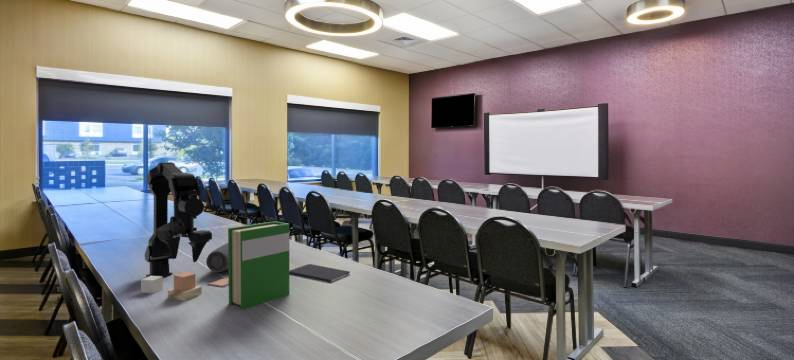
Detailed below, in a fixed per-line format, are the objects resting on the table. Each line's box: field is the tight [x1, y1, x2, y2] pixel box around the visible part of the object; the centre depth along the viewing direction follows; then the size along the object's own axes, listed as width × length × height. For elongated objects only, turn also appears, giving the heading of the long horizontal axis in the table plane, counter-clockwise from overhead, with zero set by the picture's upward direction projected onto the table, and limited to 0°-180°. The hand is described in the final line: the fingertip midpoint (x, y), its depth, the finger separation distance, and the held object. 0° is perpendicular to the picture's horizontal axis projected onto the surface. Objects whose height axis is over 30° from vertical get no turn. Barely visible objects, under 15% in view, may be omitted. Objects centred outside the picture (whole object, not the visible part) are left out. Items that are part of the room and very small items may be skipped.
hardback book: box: [227, 221, 290, 311], centre depth 135 cm, size 18×7×24 cm, turn 143°
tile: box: [207, 278, 229, 288], centre depth 151 cm, size 7×7×1 cm
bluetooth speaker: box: [205, 242, 229, 273], centre depth 172 cm, size 23×9×10 cm, turn 179°
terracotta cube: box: [173, 271, 196, 291], centre depth 138 cm, size 4×4×4 cm
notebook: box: [289, 263, 351, 283], centre depth 165 cm, size 13×2×21 cm
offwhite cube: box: [140, 276, 164, 294], centre depth 142 cm, size 4×4×4 cm
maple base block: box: [167, 284, 203, 302], centre depth 138 cm, size 7×7×3 cm
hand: (184, 260), depth 137 cm, fingers open, 9 cm apart
